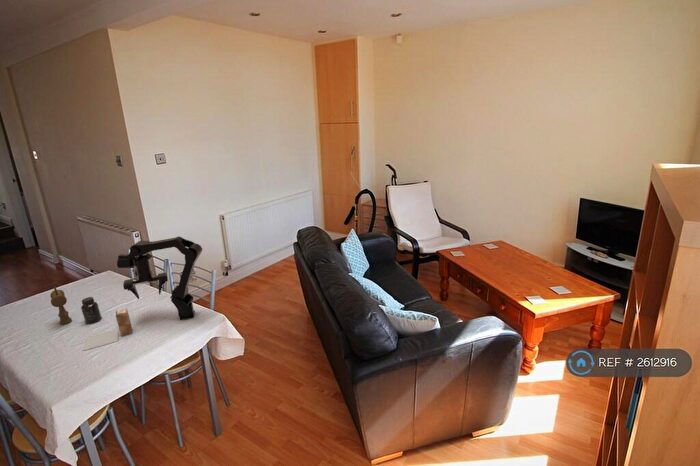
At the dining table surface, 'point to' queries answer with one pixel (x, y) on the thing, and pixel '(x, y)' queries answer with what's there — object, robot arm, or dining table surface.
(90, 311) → the supplement bottle
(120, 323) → the walnut block
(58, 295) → the kendama
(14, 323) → the dining table surface
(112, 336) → the felt pad
